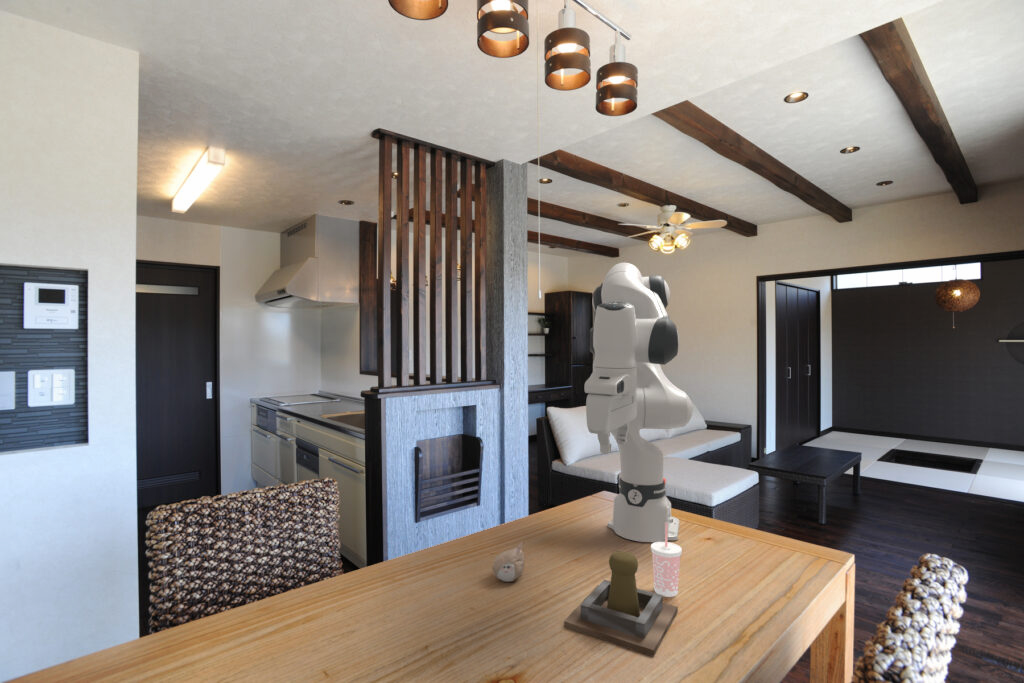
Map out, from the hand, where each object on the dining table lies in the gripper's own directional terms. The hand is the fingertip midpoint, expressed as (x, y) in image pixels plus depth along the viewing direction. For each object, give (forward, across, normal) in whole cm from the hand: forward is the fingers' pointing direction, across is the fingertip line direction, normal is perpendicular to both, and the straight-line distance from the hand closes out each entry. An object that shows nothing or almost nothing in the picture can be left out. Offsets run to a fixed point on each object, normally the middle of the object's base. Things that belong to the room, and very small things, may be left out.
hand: (613, 448), depth 103 cm
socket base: (+29, +10, +6) cm, 31 cm away
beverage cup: (+29, -4, +10) cm, 31 cm away
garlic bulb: (+29, +8, -20) cm, 37 cm away
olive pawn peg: (+28, +10, +6) cm, 30 cm away
